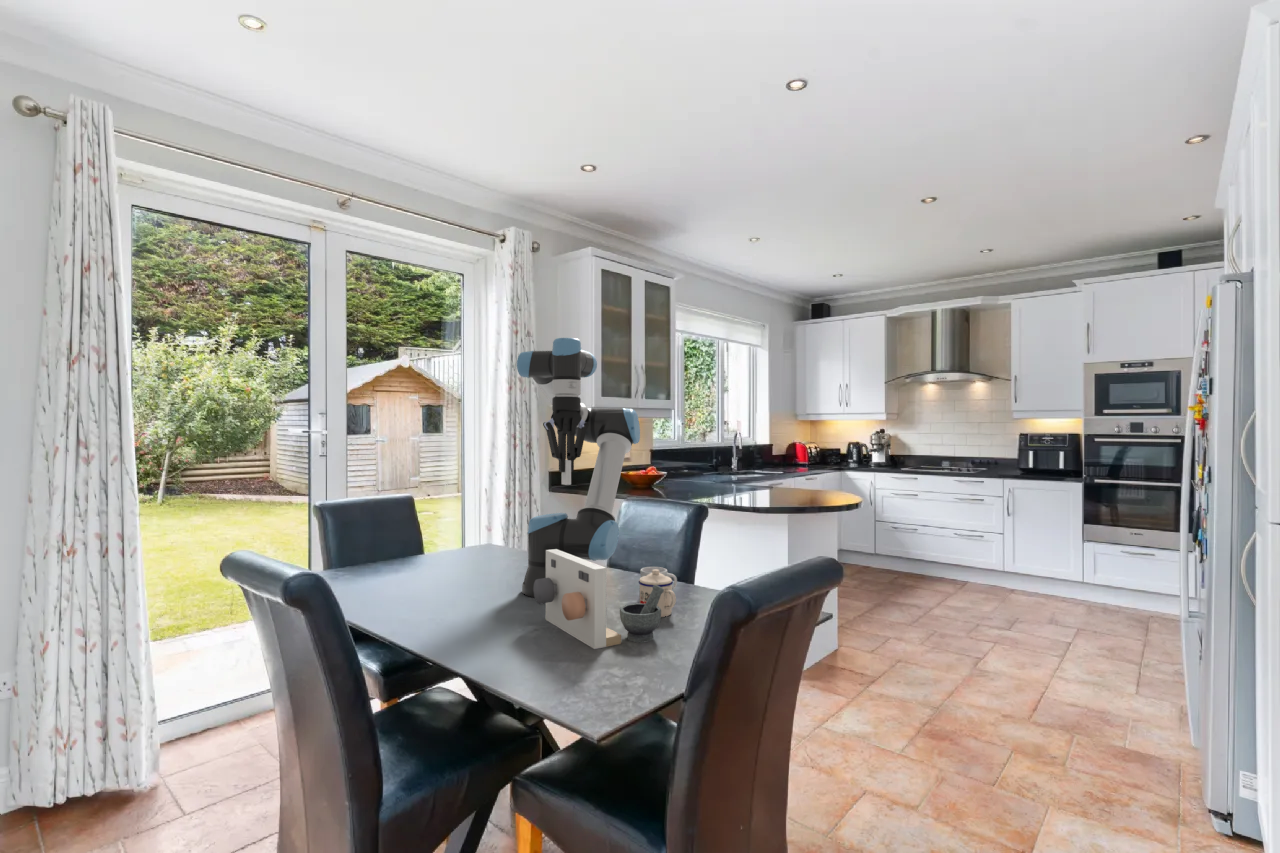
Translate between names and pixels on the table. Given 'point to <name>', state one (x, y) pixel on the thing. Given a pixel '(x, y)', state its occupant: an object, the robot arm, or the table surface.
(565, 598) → the terracotta button
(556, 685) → the table surface
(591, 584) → the button panel
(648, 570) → the cup
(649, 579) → the teacup with lid
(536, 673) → the table surface
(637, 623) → the mortar and pestle
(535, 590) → the charcoal button
